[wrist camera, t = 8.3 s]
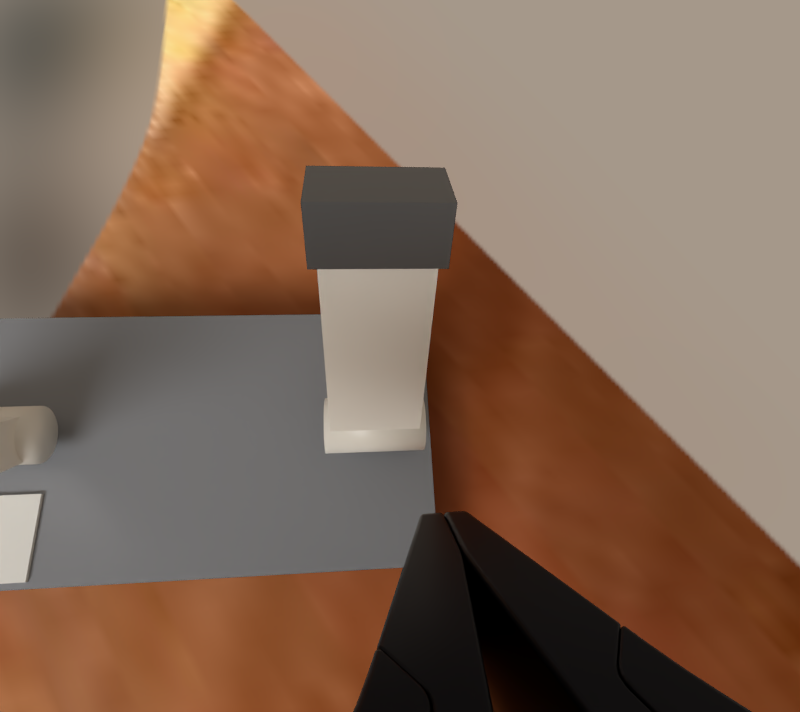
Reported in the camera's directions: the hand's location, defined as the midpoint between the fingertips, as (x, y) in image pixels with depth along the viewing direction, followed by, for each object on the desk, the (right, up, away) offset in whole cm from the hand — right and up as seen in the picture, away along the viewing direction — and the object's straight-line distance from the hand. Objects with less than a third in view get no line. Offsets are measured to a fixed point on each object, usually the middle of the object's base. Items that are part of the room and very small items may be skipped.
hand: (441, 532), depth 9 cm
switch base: (-8, 0, +10) cm, 13 cm away
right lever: (-2, +1, +7) cm, 8 cm away
